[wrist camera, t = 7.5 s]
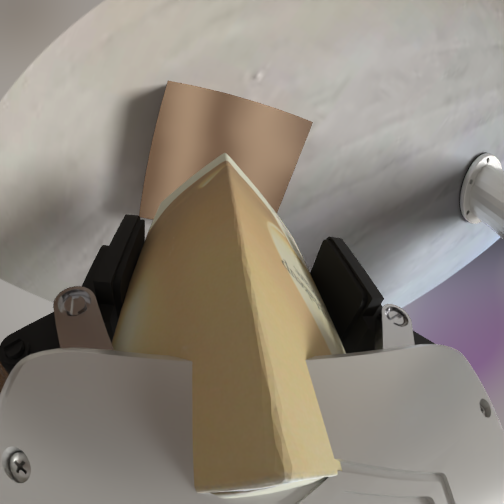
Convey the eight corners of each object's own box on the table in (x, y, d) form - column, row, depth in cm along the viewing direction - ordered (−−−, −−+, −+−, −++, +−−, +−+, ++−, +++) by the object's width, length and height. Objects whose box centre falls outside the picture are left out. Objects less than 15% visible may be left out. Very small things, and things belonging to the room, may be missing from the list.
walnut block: (295, 115, 24) (312, 122, 20) (256, 218, 30) (265, 242, 26) (176, 82, 21) (168, 80, 17) (149, 195, 27) (138, 216, 23)
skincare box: (295, 237, 15) (398, 465, 5) (232, 279, 16) (270, 505, 6) (221, 144, 11) (304, 498, 1) (152, 201, 12) (82, 494, 2)
